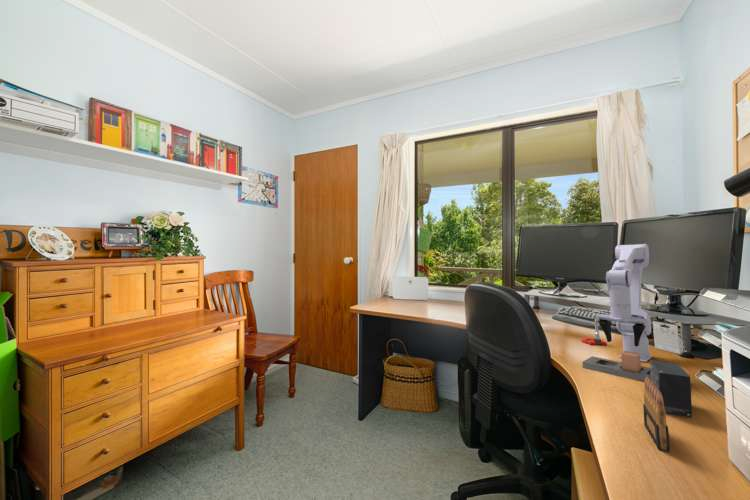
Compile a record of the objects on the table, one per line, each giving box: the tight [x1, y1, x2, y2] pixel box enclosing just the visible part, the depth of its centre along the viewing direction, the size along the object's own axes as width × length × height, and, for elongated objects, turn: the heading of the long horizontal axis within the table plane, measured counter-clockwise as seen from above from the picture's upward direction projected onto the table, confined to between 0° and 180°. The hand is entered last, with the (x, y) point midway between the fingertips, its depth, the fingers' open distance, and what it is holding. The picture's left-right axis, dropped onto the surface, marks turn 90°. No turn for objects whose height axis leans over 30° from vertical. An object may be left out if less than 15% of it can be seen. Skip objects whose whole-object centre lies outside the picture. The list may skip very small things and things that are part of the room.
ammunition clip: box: [642, 376, 671, 453], centre depth 69 cm, size 11×2×12 cm, turn 151°
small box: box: [649, 359, 693, 419], centre depth 82 cm, size 11×6×10 cm, turn 148°
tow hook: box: [581, 314, 608, 346], centre depth 142 cm, size 8×13×9 cm
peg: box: [620, 351, 642, 372], centre depth 104 cm, size 4×4×7 cm
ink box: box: [652, 320, 685, 355], centre depth 126 cm, size 3×9×12 cm, turn 13°
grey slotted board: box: [581, 356, 651, 383], centre depth 104 cm, size 9×26×2 cm, turn 37°
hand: (622, 343), depth 108 cm, fingers open, 7 cm apart
